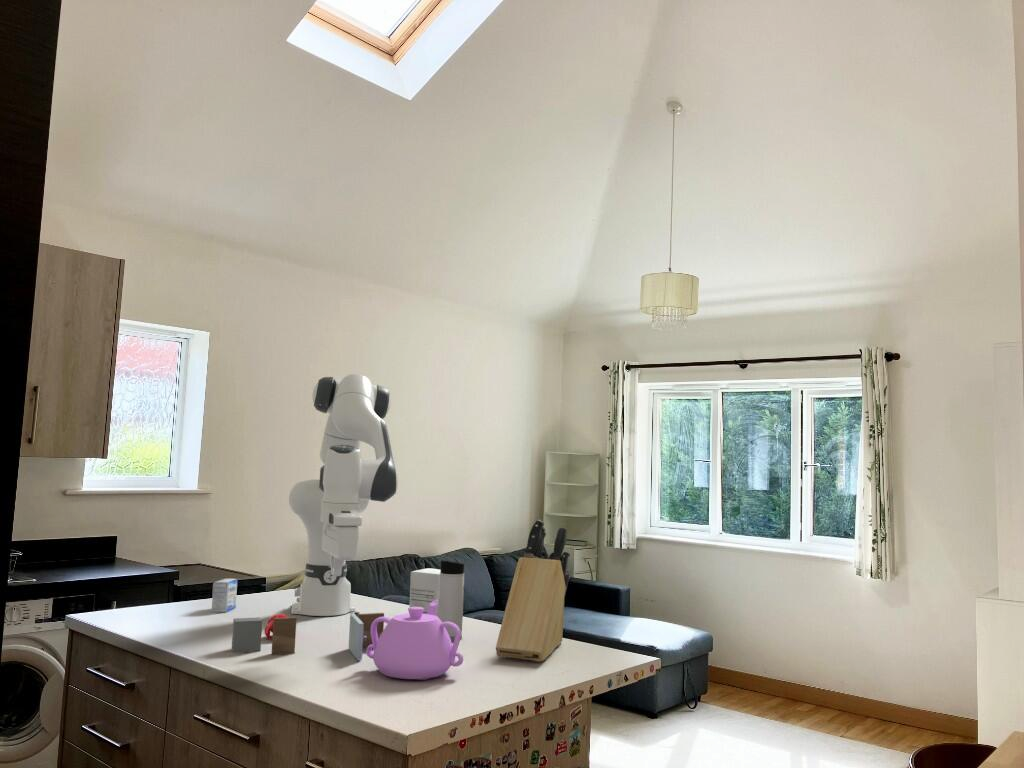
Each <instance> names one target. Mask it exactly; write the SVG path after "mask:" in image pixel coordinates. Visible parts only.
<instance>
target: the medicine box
mask: <svg viewBox="0 0 1024 768" xmlns="http://www.w3.org/2000/svg"><path fill="white" fill-rule="evenodd" d="M237 590H238V579H237V578H223V579H220V580H219V579H218V580H217V581H215V582H213V584H212V595H211V596H212V597H211V598H212V599H211V612H212V613H223V612H224V613H223V614H225V613H228V612H230V611H232V610H234V609H236V608H237Z"/></svg>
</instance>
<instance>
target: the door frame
mask: <svg viewBox="0 0 1024 768" xmlns="http://www.w3.org/2000/svg"><path fill="white" fill-rule="evenodd" d="M353 613H354V614H355V615H356V616H357V617H358V618H359V619H360V620H361V621H362V622H363V623H364V626H363V636H367V641H363V646H362V650H363V649H367V647H368V646H369V645H373V643H372V638H371V624H372V622H373V621H374V620H375V619H377V618H379V617H385V612H375V613H374V612H371V613H369V612H368V613H361V612H359V611H353ZM297 620H298V619H297V617H296V616H291V617H290V616H287V617H284V618H274V621H273V633H272V639H271V640H272V641H271V655H272V656H273V655H286V654H287V655H288V654H296V653H295V650H296V637H297V636H296V635H297V633H296V632H297ZM384 625H385V622H379V623H378V624H377V636H378V639H379V637H380V635H381V633H382V632H383V630H384V629H385V626H384Z"/></svg>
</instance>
